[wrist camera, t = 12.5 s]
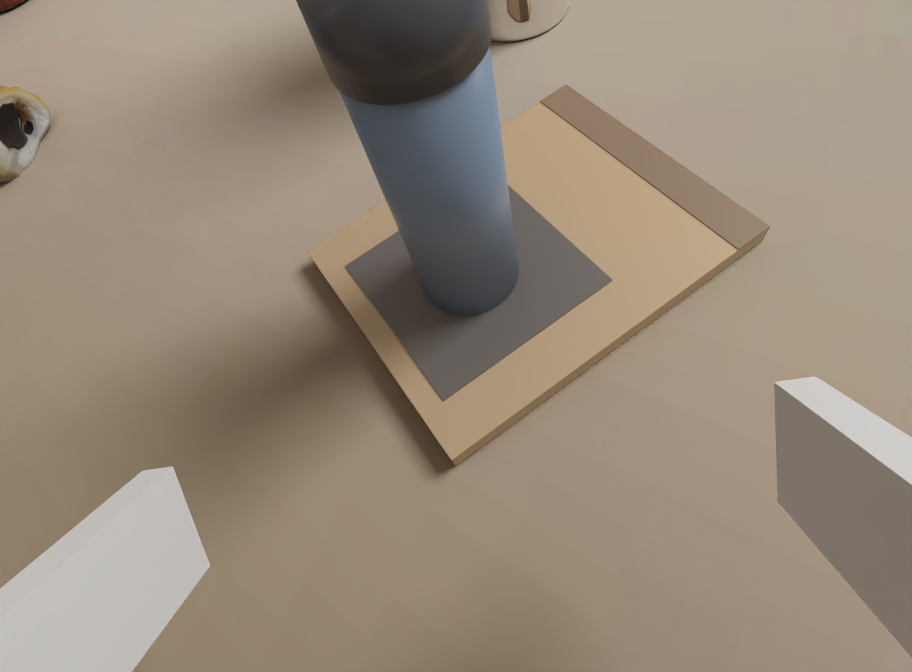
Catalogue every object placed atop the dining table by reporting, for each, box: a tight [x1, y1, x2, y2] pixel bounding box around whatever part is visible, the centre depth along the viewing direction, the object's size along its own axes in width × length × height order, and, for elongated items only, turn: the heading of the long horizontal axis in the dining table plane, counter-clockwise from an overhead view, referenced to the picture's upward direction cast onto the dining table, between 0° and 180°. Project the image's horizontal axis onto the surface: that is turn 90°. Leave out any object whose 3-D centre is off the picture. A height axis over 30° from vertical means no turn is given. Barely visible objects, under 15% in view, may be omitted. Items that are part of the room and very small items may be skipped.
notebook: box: [307, 85, 770, 466], centre depth 23 cm, size 12×15×1 cm
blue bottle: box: [296, 0, 519, 316], centre depth 17 cm, size 4×4×12 cm
